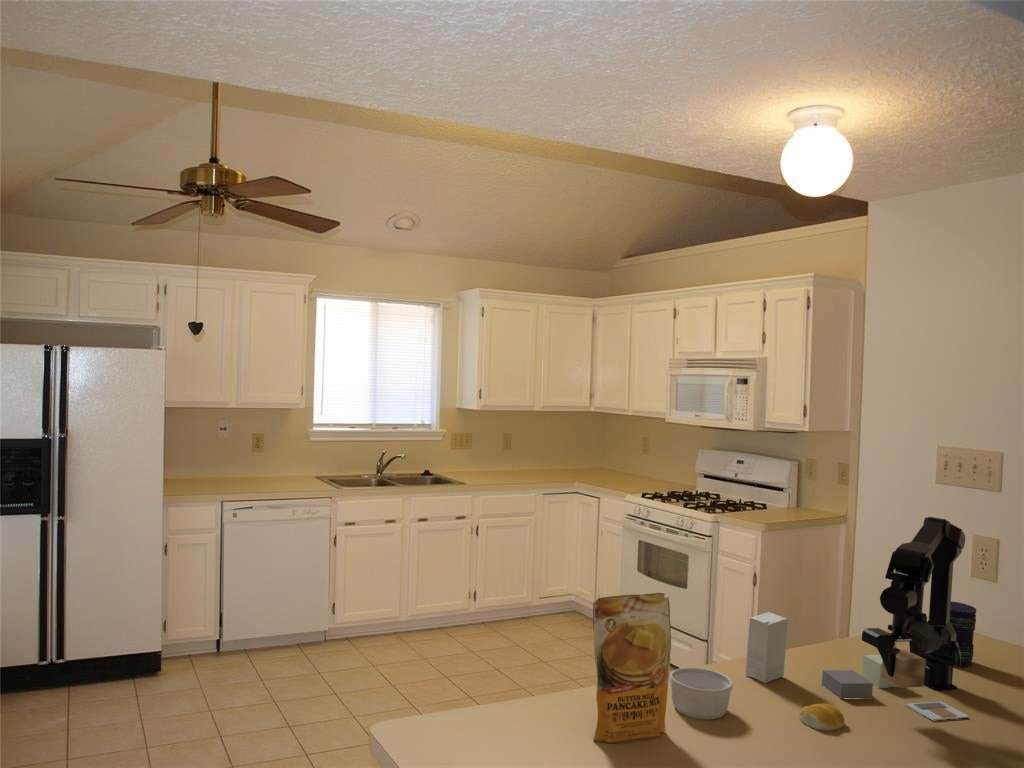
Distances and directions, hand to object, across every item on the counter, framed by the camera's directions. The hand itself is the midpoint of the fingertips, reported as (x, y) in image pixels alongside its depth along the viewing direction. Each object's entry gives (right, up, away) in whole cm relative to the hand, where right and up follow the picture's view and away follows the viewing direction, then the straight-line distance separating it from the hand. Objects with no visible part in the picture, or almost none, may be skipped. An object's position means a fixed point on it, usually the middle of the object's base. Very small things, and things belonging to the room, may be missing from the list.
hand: (902, 675), depth 182 cm
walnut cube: (0, -1, 0) cm, 1 cm away
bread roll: (-20, -9, -5) cm, 22 cm away
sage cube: (+4, -9, +20) cm, 23 cm away
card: (+10, -10, +4) cm, 15 cm away
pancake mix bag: (-63, -6, -17) cm, 66 cm away
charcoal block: (-7, -9, +13) cm, 17 cm away
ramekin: (-45, -7, -2) cm, 46 cm away
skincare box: (-25, -7, +20) cm, 32 cm away
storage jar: (+32, -10, +40) cm, 52 cm away
